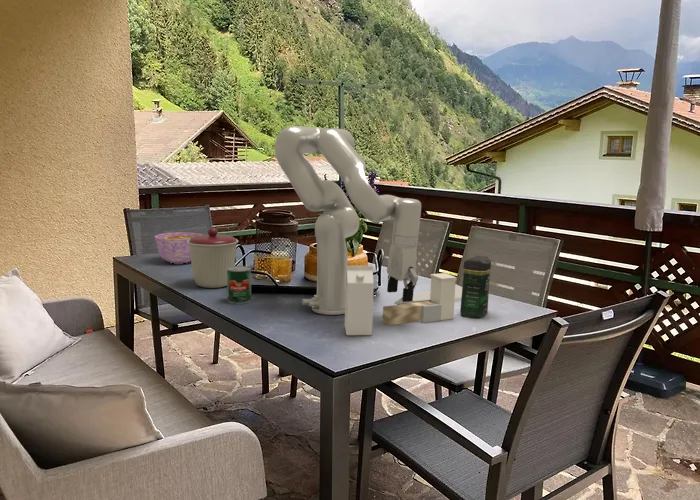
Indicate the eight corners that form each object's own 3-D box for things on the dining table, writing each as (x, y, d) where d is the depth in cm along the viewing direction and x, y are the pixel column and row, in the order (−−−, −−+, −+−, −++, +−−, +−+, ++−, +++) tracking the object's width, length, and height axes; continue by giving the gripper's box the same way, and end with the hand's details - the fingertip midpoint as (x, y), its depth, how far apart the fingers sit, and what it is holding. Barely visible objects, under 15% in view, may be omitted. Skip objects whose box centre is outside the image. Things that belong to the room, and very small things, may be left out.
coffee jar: (482, 320, 182) (486, 260, 178) (457, 316, 185) (460, 257, 182) (490, 312, 190) (494, 255, 187) (466, 308, 194) (470, 252, 191)
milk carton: (344, 327, 171) (346, 263, 168) (369, 327, 172) (371, 263, 168) (346, 335, 164) (348, 268, 161) (372, 335, 165) (374, 268, 161)
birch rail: (388, 326, 174) (389, 309, 174) (382, 322, 178) (383, 306, 177) (433, 319, 182) (434, 303, 181) (426, 316, 185) (427, 301, 184)
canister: (180, 283, 219) (178, 226, 215) (224, 277, 230) (224, 223, 226) (201, 293, 205) (199, 233, 201) (247, 286, 216) (247, 229, 212)
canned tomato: (245, 296, 203) (244, 264, 201) (255, 301, 196) (255, 269, 194) (223, 299, 198) (222, 267, 196) (233, 305, 192) (232, 271, 190)
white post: (423, 322, 178) (425, 280, 175) (411, 316, 184) (413, 275, 182) (455, 319, 182) (457, 277, 180) (442, 312, 189) (444, 272, 186)
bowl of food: (160, 257, 264) (159, 232, 262) (206, 257, 266) (206, 232, 264) (150, 267, 245) (149, 239, 243) (200, 267, 247) (199, 239, 245)
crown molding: (421, 312, 190) (422, 302, 189) (393, 304, 198) (393, 294, 198) (474, 298, 210) (474, 288, 209) (446, 291, 218) (446, 282, 218)
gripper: (380, 235, 181) (375, 289, 184) (407, 247, 165) (402, 305, 169) (402, 235, 184) (397, 288, 187) (431, 246, 168) (424, 304, 172)
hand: (399, 296), depth 178 cm, fingers open, 9 cm apart
